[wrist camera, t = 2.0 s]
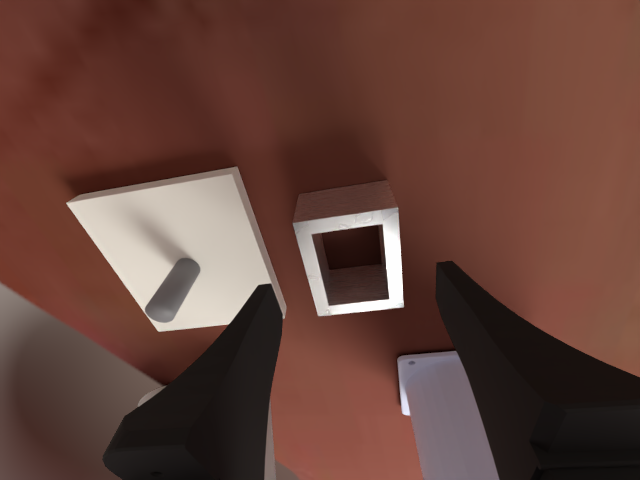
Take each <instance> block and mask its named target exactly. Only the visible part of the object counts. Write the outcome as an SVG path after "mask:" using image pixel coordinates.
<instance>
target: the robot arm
mask: <svg viewBox="0 0 640 480" xmlns="http://www.w3.org/2000/svg"><path fill="white" fill-rule="evenodd" d="M436 301H437V304H438V307H439V311H440V314H441V317H442V320H443V322H444V325H445V327H446V329H447V331H448V334H449V336H450V338H451V340H452V343H453V345H454V347H455V349H456V351H449V352H437V353H425V354H413V355H403V356H400V357H399V358H398V359H397V363H398V375H399V387H400V399H401V410H402V413H403V414H404V415H410V416H411V421H412V426H413V431H414V435H415V440H416V445H417V450H418V455H419V460H420V465H421V470H422V475H423V480H640V377H637V376H635V375H633V374H630V373H628V372H625V371H623V370H621V369H618V368H616V367H614V366H611V365H609V364H606V363H604V362H602V361H600V360H598V359H596V358H594V357H592V356H589V355H587V354H585V353H583V352H581V351H579V350H577V349H575V348H573V347H571V346H569V345H567V344H565V343H564V342H562V341H560V340H558V339H556V338H554V337H553V336H551V335H549V334H547V333H545V332H544V331H542V330H540V329H539V328H537V327H535V326H534V325H532V324H531V323H529V322H528V321H526V320H524V319H523V318H521V317H520V316H518V315H517V314H515V313H514V312H513V311H511V310H510V309H508V308H507V307H506V306H504V305H503V304H502V303H500V302H499V301H498V300H497V299H495V298H494V297H493V296H491V295H490V294H489V293H488V292H487V291H485V290H484V289H483V288H482V287H481V286H479V285H478V284H477V283H476V282H475V281H474V280H473V279H471V278H470V277H469V276H468V275H467V274H466V273H465V272H464V271H463V270H462V269H460V268H459V267H458V266H457V265H456V264H455V263H454V262H453V261H446V262H438V263H437V266H436ZM282 322H283V313H282V311H281V308H280V305H279V303H278V300H277V297H276V295H275V292H274V289H273V286H272V284H271V283H269V284H261V285H258V286H257V287H256V289H255V290H254V291H253V293H252V294H251V296H250V297H249V298H248V300H247V301H246V303H245V304H244V305H243V307H242V308H241V309H240V311H239V312H238V313H237V315H236V316H235V317H234V319H233V320H232V321H231V323H230V324H229V325H228V326H227V327H226V329H225V330H224V331H223V332H222V334H221V335H220V336H219V337H218V338H217V339H216V341H215V342H214V343H213V344H212V345H211V346H210V347H209V348H208V349H207V350H206V351H205V352H204V353H203V354H202V355H201V356H200V357H199V358H198V359H197V360H196V361H195V362H194V363H193V364H192V365H190V366H189V367H188V368H187V369H186V370H185V371H184V372H183V373H182V374H181V375H179V376H178V377H177V378H176V379H175V380H173V381H172V382H171V383H170V384H169V385H167V386H166V387H165V388H163V389H162V390H161V391H160V392H158V393H157V394H156V395H154V396H153V397H152V398H150V399H149V400H147V401H146V402H145V403H143V404H142V405H140V406H139V407H137V408H136V409H135V410H133V411H132V412H131V413H129V414H128V415H126V416H125V417H124V418H123V420H122V422H121V424H120V425H119V427H118V429H117V431H116V433H115V435H114V436H113V438H112V440H111V442H110V444H109V446H108V447H107V449H106V451H105V453H104V455H103V462H104V464H105V466H106V467H107V468H108V469H109V470H110V471H111V472H113V473H114V474H115V475H117V476H118V477H120V478H121V479H122V480H264V475H265V455H266V438H267V426H268V413H269V403H270V393H271V387H272V381H273V376H274V371H275V366H276V361H277V356H278V351H279V346H280V341H281V336H282Z"/></svg>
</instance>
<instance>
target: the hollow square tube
mask: <svg viewBox="0 0 640 480" xmlns="http://www.w3.org/2000/svg"><path fill="white" fill-rule="evenodd" d="M372 225H378V230H379V240H380V250H381V260H382V264H375V265H367V266H359V267H351V268H343V269H335V270H329V266H328V262H327V257H326V253H325V248H324V244H323V239H322V235H321V233H323V232H330V231H337V230H344V229H351V228H358V227H365V226H372ZM293 227H294V230H295V234H296V238H297V241H298V245H299V248H300V252H301V256H302V259H303V263H304V266H305V270H306V274H307V277H308V281H309V284H310V288H311V292H312V295H313V299H314V302H315V306H316V310H317V313H318V316H327V315H336V314H346V313H355V312H365V311H374V310H384V309H393V308H403V307H404V301H403V284H402V266H401V248H400V230H399V212H398V206H397V203H396V200H395V198H394V195H393V192H392V190H391V187H390V185H389V182H388V180H383V181H377V182H371V183H365V184H358V185H352V186H346V187H340V188H334V189H327V190H321V191H315V192H309V193H303V194H299V196H298V200H297V205H296V209H295V214H294V219H293Z"/></svg>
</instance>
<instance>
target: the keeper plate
mask: <svg viewBox="0 0 640 480" xmlns="http://www.w3.org/2000/svg"><path fill="white" fill-rule="evenodd" d="M66 204H67V205H68V206H69V208H70V209H71V211H72V212H73V213H74V215H75V216H76V217H77V219H78V220H79V222H80V223H81V224H82V226H83V227H84V229H85V230H86V231H87V233H88V234H89V236H90V237H91V238H92V240H93V241H94V243H95V244H96V245H97V247H98V248H99V250H100V251H101V252H102V254H103V255H104V257H105V258H106V259H107V261H108V262H109V264H110V265H111V266H112V268H113V269H114V271H115V272H116V273H117V275H118V276H119V277H120V279H121V280H122V282H123V283H124V284H125V286H126V287H127V289H128V290H129V291H130V293H131V294H132V296H133V297H134V298H135V300H136V301H137V303H138V304H139V305H140V307H141V308H142V310H143V311H144V312H145V314H146V315H147V317H148V318H149V319H150V321H151V322H152V324H153V325H154V326H155V328H156V329H157V330H158V332H161V331H171V330H180V329H190V328H199V327H208V326H218V325H227V324H230V323H231V321H232V320H233V319H234V317H235V316H236V315H237V313H238V312H239V311H240V309H241V308H242V307H243V305H244V304H245V303H246V301H247V300H248V298H249V297H250V296H251V294H252V293H253V291H254V290H255V289H256V287H257V286H258V285H261V284H269V283H271V284H272V286H273V289H274V292H275V295H276V297H277V300H278V303H279V305H280V308H281V311H282V313H283V319H284V318H285V314H286V308H287V307H286V304H285V301H284V298H283V295H282V292H281V290H280V287H279V284H278V281H277V278H276V275H275V272H274V270H273V267H272V264H271V261H270V258H269V255H268V252H267V250H266V247H265V244H264V241H263V238H262V235H261V233H260V230H259V227H258V224H257V221H256V218H255V215H254V213H253V210H252V207H251V204H250V201H249V198H248V195H247V193H246V190H245V187H244V184H243V181H242V178H241V175H240V173H239V170H238V167H232V168H226V169H221V170H215V171H209V172H204V173H198V174H193V175H187V176H181V177H176V178H170V179H165V180H159V181H153V182H148V183H142V184H137V185H131V186H125V187H120V188H114V189H109V190H103V191H97V192H92V193H86V194H81V195H78V196H77V197H75V198H73V199H72V200H70V201H69V202H67V203H66Z"/></svg>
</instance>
